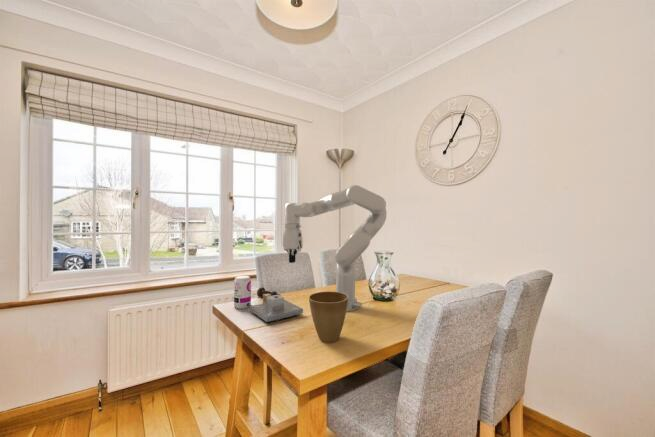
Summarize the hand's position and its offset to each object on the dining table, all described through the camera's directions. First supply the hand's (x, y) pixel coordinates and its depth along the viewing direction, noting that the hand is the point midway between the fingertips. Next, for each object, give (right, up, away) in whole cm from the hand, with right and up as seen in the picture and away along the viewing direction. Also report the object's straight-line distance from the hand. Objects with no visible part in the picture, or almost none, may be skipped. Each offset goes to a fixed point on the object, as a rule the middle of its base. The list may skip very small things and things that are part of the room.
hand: (292, 262), depth 146 cm
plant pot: (+19, -23, -39) cm, 49 cm away
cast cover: (-6, -19, -14) cm, 25 cm away
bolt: (-14, -22, +11) cm, 29 cm away
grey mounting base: (-7, -22, -13) cm, 26 cm away
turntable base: (-6, -22, -14) cm, 27 cm away
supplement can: (-25, -22, -3) cm, 33 cm away
